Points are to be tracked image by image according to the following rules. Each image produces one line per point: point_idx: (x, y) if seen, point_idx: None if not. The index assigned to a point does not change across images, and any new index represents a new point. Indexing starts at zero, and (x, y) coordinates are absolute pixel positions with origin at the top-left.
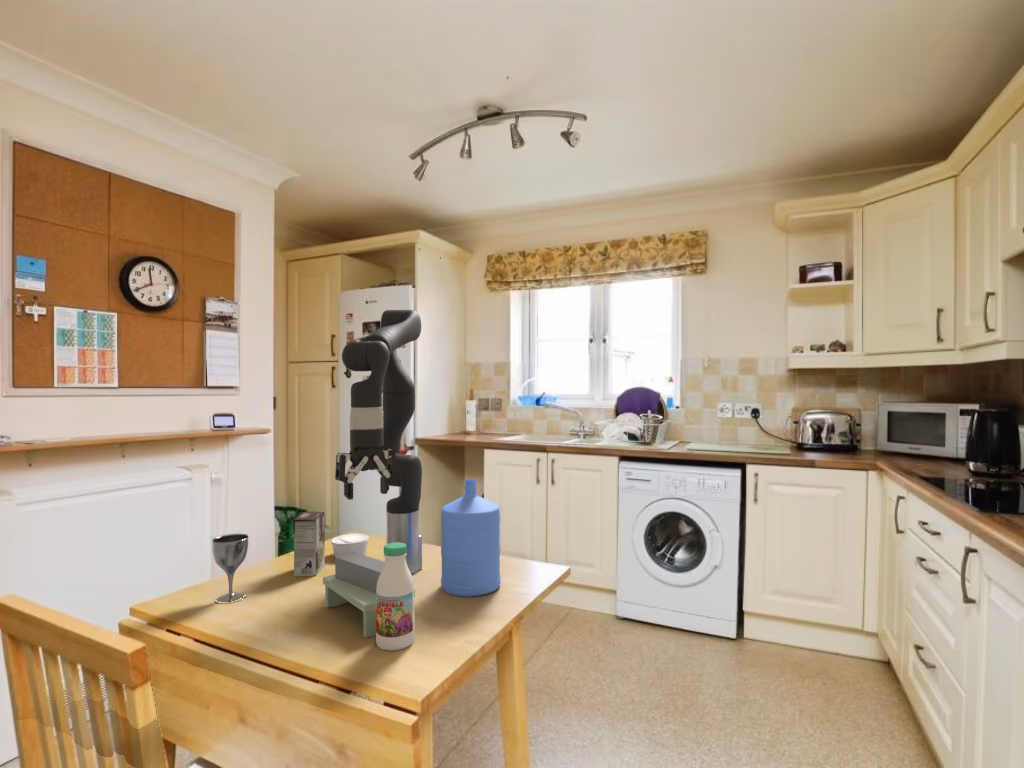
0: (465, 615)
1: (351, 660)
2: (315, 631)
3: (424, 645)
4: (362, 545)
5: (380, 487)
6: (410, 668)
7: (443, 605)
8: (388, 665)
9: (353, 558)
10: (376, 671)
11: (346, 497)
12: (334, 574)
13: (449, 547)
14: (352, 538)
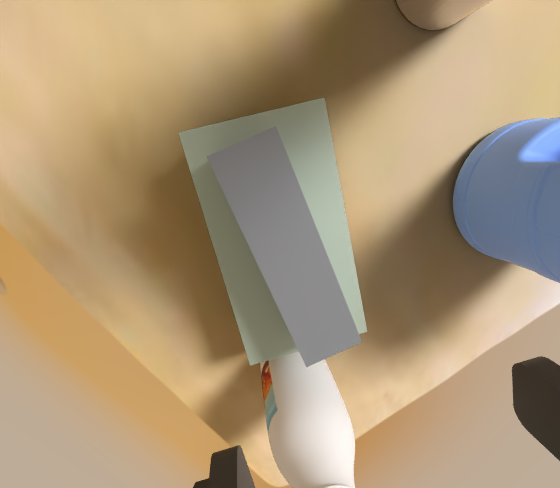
0: (429, 316)
1: (215, 384)
2: (166, 260)
3: None
4: None
5: (557, 392)
6: None
7: (417, 258)
8: (262, 415)
9: (261, 205)
10: (243, 424)
11: (213, 458)
12: (213, 124)
13: (546, 241)
14: None
